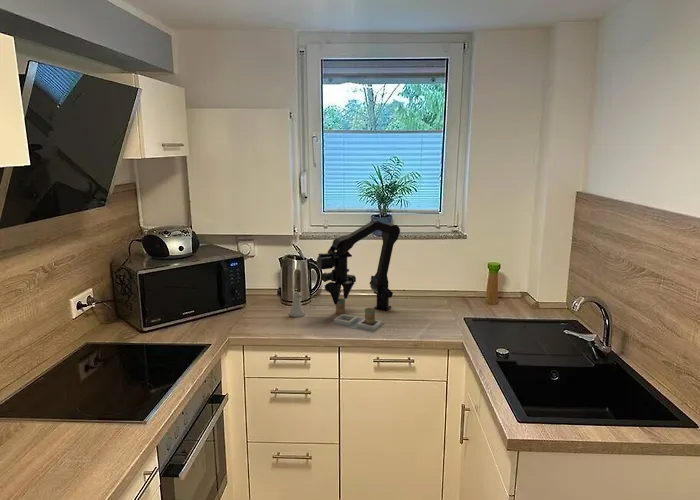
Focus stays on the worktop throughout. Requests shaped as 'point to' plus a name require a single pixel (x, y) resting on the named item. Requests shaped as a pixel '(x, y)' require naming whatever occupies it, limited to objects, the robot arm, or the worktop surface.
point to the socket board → (356, 323)
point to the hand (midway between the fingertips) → (340, 301)
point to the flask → (296, 306)
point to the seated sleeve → (370, 316)
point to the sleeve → (340, 306)
